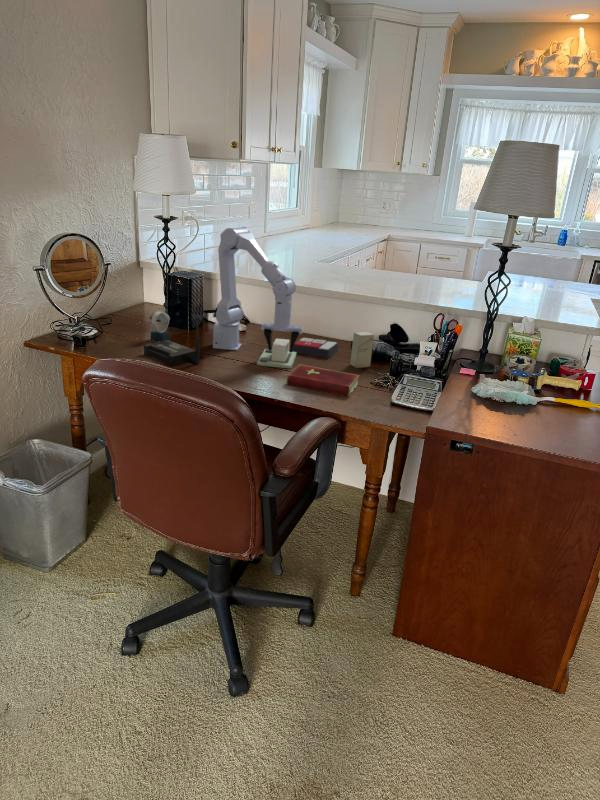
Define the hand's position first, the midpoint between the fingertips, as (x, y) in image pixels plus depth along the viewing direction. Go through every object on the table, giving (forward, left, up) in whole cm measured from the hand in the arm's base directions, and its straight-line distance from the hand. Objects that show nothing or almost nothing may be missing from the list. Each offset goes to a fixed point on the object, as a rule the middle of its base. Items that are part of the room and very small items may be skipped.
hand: (280, 350), depth 201 cm
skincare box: (+29, +3, -4) cm, 29 cm away
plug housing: (0, 0, -2) cm, 2 cm away
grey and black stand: (-36, -10, -4) cm, 38 cm away
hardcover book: (+17, -20, -4) cm, 27 cm away
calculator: (+11, +14, -4) cm, 19 cm away
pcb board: (-1, 0, -3) cm, 4 cm away
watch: (-48, +9, -4) cm, 49 cm away
